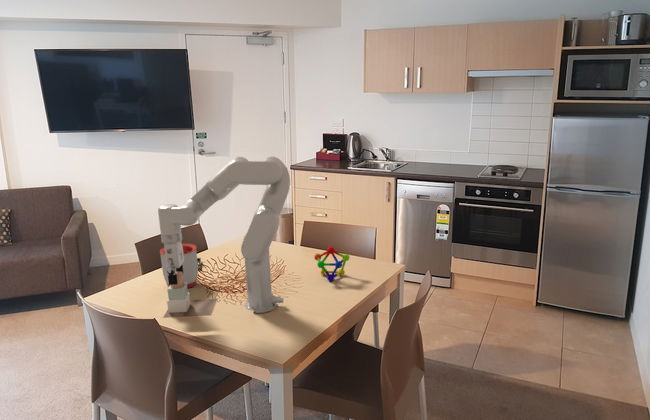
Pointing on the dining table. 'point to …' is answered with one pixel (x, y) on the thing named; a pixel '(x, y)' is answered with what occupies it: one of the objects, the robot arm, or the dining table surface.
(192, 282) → the citrus juicer
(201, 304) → the serving board
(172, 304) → the cream block
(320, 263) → the educational toy
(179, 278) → the pink domed cylinder
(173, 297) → the sage block
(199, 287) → the dining table surface
